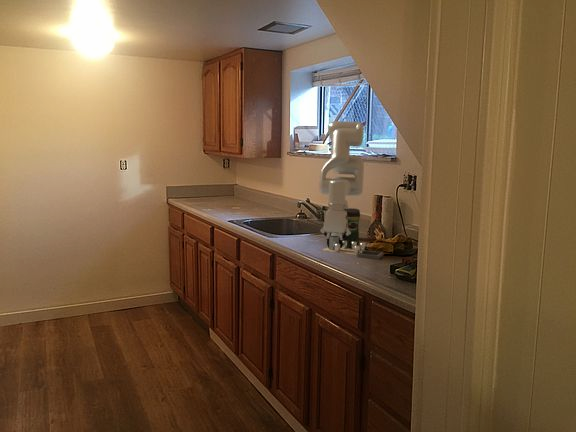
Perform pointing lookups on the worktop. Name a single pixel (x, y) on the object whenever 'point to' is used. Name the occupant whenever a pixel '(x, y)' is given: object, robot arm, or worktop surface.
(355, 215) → the coffee jar
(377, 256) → the tray
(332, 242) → the nut
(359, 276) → the worktop surface
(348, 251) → the board
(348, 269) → the worktop surface
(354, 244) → the spacers
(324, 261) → the worktop surface
